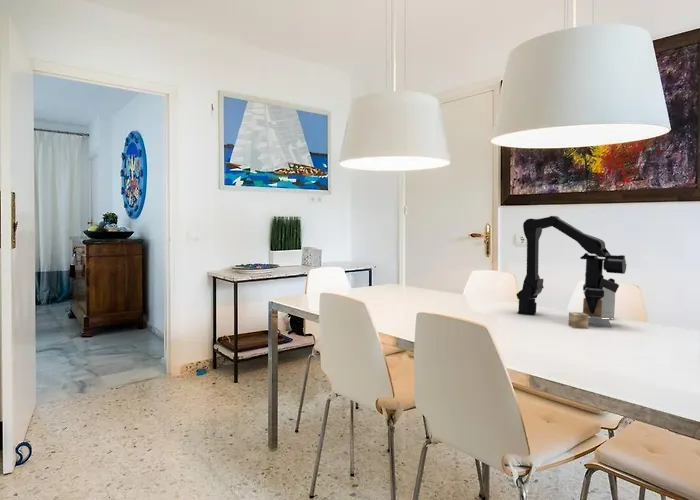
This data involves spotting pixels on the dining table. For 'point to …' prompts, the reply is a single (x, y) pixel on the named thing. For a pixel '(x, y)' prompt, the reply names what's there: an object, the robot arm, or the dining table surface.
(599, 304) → the walnut cube
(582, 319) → the oak cube
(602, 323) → the plate
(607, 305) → the supplement box
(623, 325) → the dining table surface
